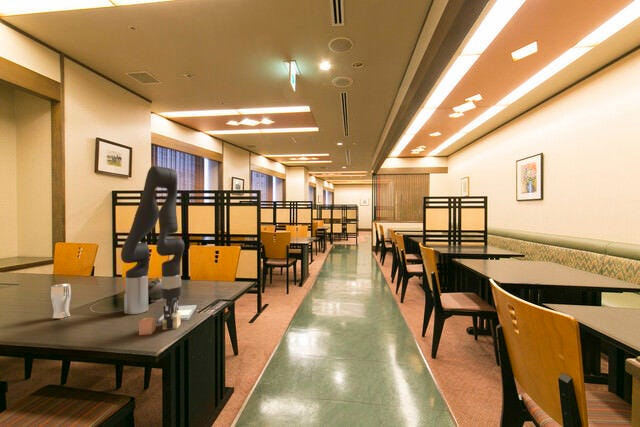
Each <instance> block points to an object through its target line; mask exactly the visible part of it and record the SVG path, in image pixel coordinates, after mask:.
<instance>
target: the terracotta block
mask: <svg viewBox="0 0 640 427" xmlns="http://www.w3.org/2000/svg"><path fill="white" fill-rule="evenodd" d="M155 331H156V317H148V318H147V317H144V318H142V319H141V320H140V321H139V322H138V335H139V336H143V335H152V334H153V333H154V332H155Z"/></svg>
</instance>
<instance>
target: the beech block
mask: <svg viewBox="0 0 640 427" xmlns="http://www.w3.org/2000/svg"><path fill="white" fill-rule="evenodd" d="M168 316H169V315H168ZM181 323H182V321H181V319H180V312H176V313H174V314H173V327H172V328H170V329H169V330H176V329H178V328H179V327H180V325H181ZM162 330H163V331H164V330H167V331H168V329H167V320H164V317H163V322H162Z"/></svg>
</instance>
